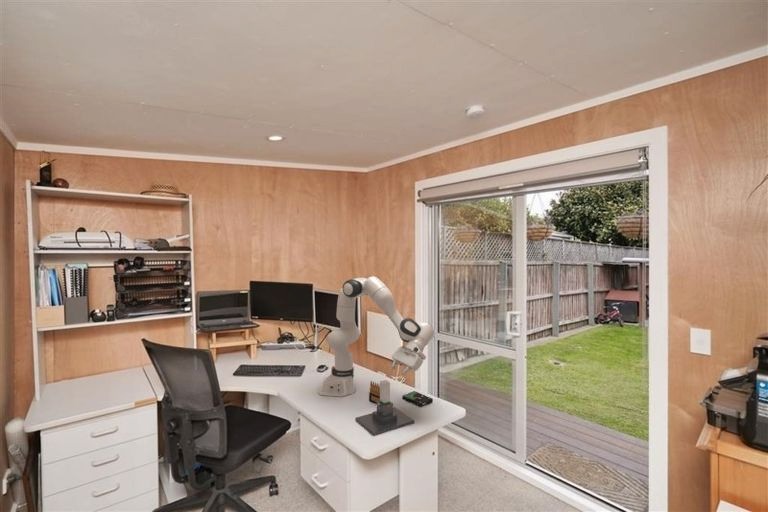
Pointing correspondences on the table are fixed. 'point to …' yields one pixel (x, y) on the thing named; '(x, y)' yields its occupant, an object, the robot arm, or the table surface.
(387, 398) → the column
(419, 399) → the disk drive
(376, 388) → the ammunition clip
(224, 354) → the table surface
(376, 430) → the metal stepped base
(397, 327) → the robot arm
